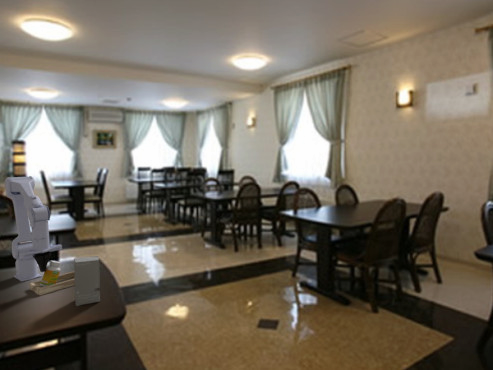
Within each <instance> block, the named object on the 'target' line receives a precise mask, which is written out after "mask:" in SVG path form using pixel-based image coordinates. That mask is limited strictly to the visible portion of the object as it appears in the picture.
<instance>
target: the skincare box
mask: <svg viewBox="0 0 493 370" xmlns="http://www.w3.org/2000/svg"><path fill="white" fill-rule="evenodd" d="M73 263H74V265H73V266H74V267H73V269H74V270H73V271H74V274H75V277H74V278H75V285H74V298H75V300H74V301H75V305H76V307H80V306H83V305H88V304H94V303H99V302H100V301H101V290H100V289H101V285H100V282H101V281H100V258H99V256H97V255H94V256H83V257H75V258H74V261H73Z"/></svg>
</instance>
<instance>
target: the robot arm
mask: <svg viewBox="0 0 493 370" xmlns="http://www.w3.org/2000/svg"><path fill="white" fill-rule="evenodd" d="M35 183H36V182H35V179H34V177H33V176H31V175H29V176H17V177H16V176H15V177H9V176H8V177H6V178H5V179H4V188H5V194H6V196H7V197H6V198H9V199H11V200H12V204H13V211H14V216H15V217H14V218H15V222H16V230H17V235H18V236H17V237H15V238H14V239H13V240H12V241H11V255H12V257H13V258H14V259H15V260H16V261H15V264H14V265H15V275H13V277H14V278H15V279H17V280H18V281H20V282H25V281H29V280H33V279H37V278H40V277H41V278H42V277H43V276H42V274H40V273H39V272H41V273H44V272H45V271H46V267H47V266H48V264H49V262H50V261H49V260H50V258H51V256H52V253H51V252H55V251H63V245H62V244H59V243H58V244H55V245H53V244H52V245H50V244H51V243H50V231H49V230H50V229H49V221H50V219H51V212H50V209H49V206H47V205H44V203H43V202H42V200H41V199H40V197H39V196H38V195H35V193H34V189H35V185H36V184H35ZM38 268H39V270H38Z"/></svg>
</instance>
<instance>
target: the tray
mask: <svg viewBox="0 0 493 370" xmlns="http://www.w3.org/2000/svg"><path fill="white" fill-rule="evenodd" d="M41 280H42V279H39V280H36V281H33V282H29V283H28V284H29V290H31V291H32V292H33V293H34V294H36V295H38V296H42V295H46V294H50V293H52V292H56V291H60V290H63V289H66V288H69V287H73V286H75V274H74V270H73V271H70V272H66V273H62V274H59V276H58V279H57V282H56V284H53V285H50V286H46V287H45V286H41V285H40V283H41Z"/></svg>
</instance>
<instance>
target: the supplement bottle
mask: <svg viewBox="0 0 493 370" xmlns="http://www.w3.org/2000/svg"><path fill="white" fill-rule="evenodd" d="M61 264H62V262H59V261H57V260H50V261H49V262H48V265H47V267H46V271H45V272H43V276H42V277H41V279H40V280H41V283H40V285H41V286H42V287H46V286H50V285H53V284H57V283H58V282H57V279H58V276H59V275H60V273H61V270H62V269H61V268H60V267H61Z"/></svg>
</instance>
